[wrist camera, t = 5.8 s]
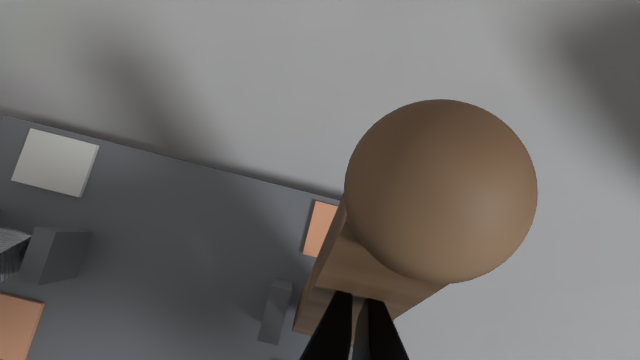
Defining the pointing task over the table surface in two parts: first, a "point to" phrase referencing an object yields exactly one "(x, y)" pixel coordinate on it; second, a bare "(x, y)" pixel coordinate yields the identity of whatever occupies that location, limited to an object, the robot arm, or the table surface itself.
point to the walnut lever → (422, 209)
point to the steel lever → (12, 250)
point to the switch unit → (149, 254)
